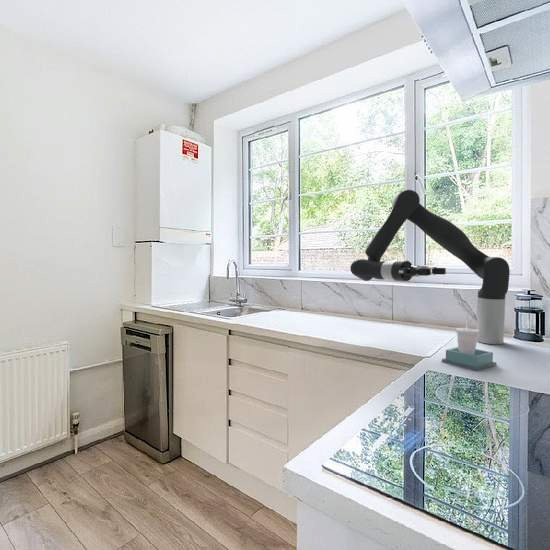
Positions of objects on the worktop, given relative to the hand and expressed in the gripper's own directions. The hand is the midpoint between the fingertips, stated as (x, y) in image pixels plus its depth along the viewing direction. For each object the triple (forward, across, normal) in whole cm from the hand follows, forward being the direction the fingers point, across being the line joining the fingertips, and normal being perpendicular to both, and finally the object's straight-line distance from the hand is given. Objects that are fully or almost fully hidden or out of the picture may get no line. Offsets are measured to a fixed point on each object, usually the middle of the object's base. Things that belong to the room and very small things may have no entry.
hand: (437, 271), depth 116 cm
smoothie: (+10, -2, +28) cm, 29 cm away
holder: (+11, -1, +28) cm, 30 cm away
